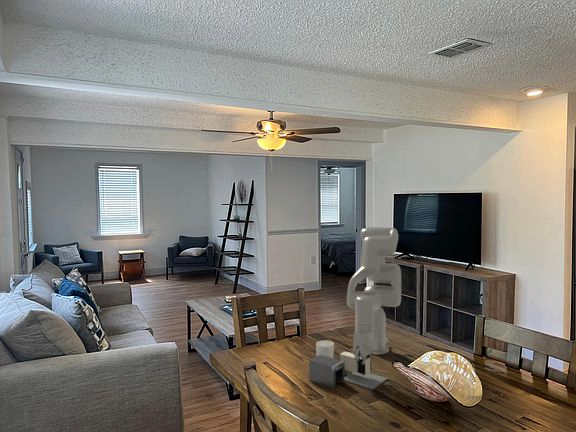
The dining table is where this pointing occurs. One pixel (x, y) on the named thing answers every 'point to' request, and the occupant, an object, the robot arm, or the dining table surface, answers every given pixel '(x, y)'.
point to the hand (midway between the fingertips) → (364, 370)
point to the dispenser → (326, 371)
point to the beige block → (354, 363)
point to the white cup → (325, 348)
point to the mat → (365, 380)
